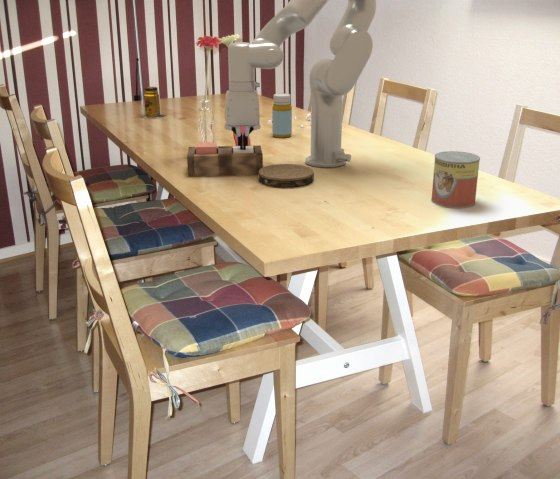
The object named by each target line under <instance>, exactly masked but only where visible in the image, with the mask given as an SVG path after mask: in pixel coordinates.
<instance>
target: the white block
mask: <svg viewBox="0 0 560 479" xmlns="http://www.w3.org/2000/svg"><path fill="white" fill-rule="evenodd" d="M232 146H233V154H235V153H254V150H253V146H254V145H248V146H246V150H244V149H242V150H240V146H238V145H232Z"/></svg>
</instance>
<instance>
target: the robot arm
mask: <svg viewBox="0 0 560 479" xmlns="http://www.w3.org/2000/svg"><path fill="white" fill-rule="evenodd" d="M328 2H329V0H289V1H288V3H286V5H285V6H284V7H283V8H282V9H280V10H279V11H278V12H277V14H275V15H274V16H273V17H272V18H271V19H270V20H269V21H267V23H266V24H265V25H264V27H262V29H260V31H259V32H258V34H257V35H256V36H255V37H254V39H253V41H252V42H251V43H250V42H248V41H247V42H245V41H244V42H243V41H239V42H238V41H237V42H232V43H230V44H229V45H228V48H227V55H228V57H227V58H228V90H226V93H225V99H224V100H225V102H224V103H225V104H224V118H225V119H224V121H225V122H224V130H226V131H232V132H233V133H234V134H235V135H236V136H237V146H240V150H242V149H244V150H246V146H249V136H250V134H251V133H253V131H257V130H260V129H261V128H262V127H261V123H260V120H261V119H260V118H261V113H260V100H259V94H258V90H256V89H257V88H260V87H261V84H260V82H257V81H255V78H256V77H255V73H256V72H255V69H263V70H273V69H276V68H278V67H279V66H280V65H281V64H282V62H283V60H284V52H283V49H282V48H281V46H282V44H283V43H284V42H285V41H286V40H287V39H288V38H289V37H291V36H293V34H296V33H297V32H300V31H302V30H304V29H306V27H308V26H310V24H312V22H313V20H315V18H316V17H317V16H318V14H319V13H320V11H322V9H323V8H324V7H325V5H326V4H327V3H328ZM376 9H377V0H348V1H347V4H346V9H345V10H344V13H343V15H342V17H341V19H340V20H339V23H338V25H337V27H336V28H335V30H334V32H333V33H332V35H331V38H330V40H329V50H330V52H331V53H332V54H333V55H334V58H333V59H331V58H323V59H319V60H318V61H316V62H315V63H313V66H312V67H311V68H310V71H309V76H308V77H309V89H310V99H311V101H310V102H311V103H310V104H311V111H310V115H311V117H310V155H309V156H307V157H305V164H307V165H308V166H312V167H316V168H336V167H341V166H344V165H345V164H347V163H346V162H348V163H350V162H351V160H352V155H351V154H349V153H345V148H342V129H343V128H342V127H343V107H344V106H343V96H345V95H347V94H349V93H350V92H351V91H352V89H354V86H355V85H356V84H357V82H358V80H359V78H360V76H361V74H362V72H363V71H364V69H365V67H366V65H367V63H368V62H369V59H370V57H371V55H372V52H373V47H374V46H373V45H374V44H373V38H372V36H371V34H370V33H369V32H368V30H369V28H370V26H371V24H372V22H373V20H374V17H375V14H376V12H377V11H376ZM241 127H244V132H243V134H242V132H241Z"/></svg>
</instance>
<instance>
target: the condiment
mask: <svg viewBox="0 0 560 479" xmlns="http://www.w3.org/2000/svg"><path fill="white" fill-rule="evenodd" d="M158 89H159V88H158V87H157V86H147V87H144V95H143V97H144V112H145V116H143V118H144V119H159V118H162V117H164V116H166V115H167V114H164V113H163V114H161V106H160V105H161V104H160V95H159V91H158Z"/></svg>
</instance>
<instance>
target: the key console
mask: <svg viewBox="0 0 560 479" xmlns="http://www.w3.org/2000/svg"><path fill="white" fill-rule="evenodd" d="M216 146H217V145H216ZM233 146H234V145H223V146H220V145H218V146H217V154H196V146H188V150H187V155H186V162H187V165H186V166H187V177H224V176H225V177H227V176H229V177H230V176H231V177H233V176H259V170H260V169H261V168H263V167H264V155H263V150H262V146H261V145H252V146H253V150H254V153H235V154H233Z"/></svg>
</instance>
